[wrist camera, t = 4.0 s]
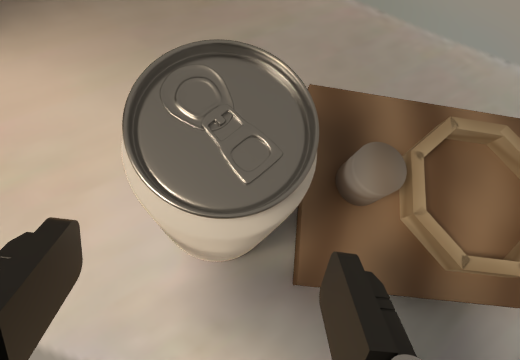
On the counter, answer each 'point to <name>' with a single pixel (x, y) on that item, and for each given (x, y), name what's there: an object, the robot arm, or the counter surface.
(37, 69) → the counter surface
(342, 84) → the counter surface
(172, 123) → the can
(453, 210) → the board
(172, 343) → the counter surface
